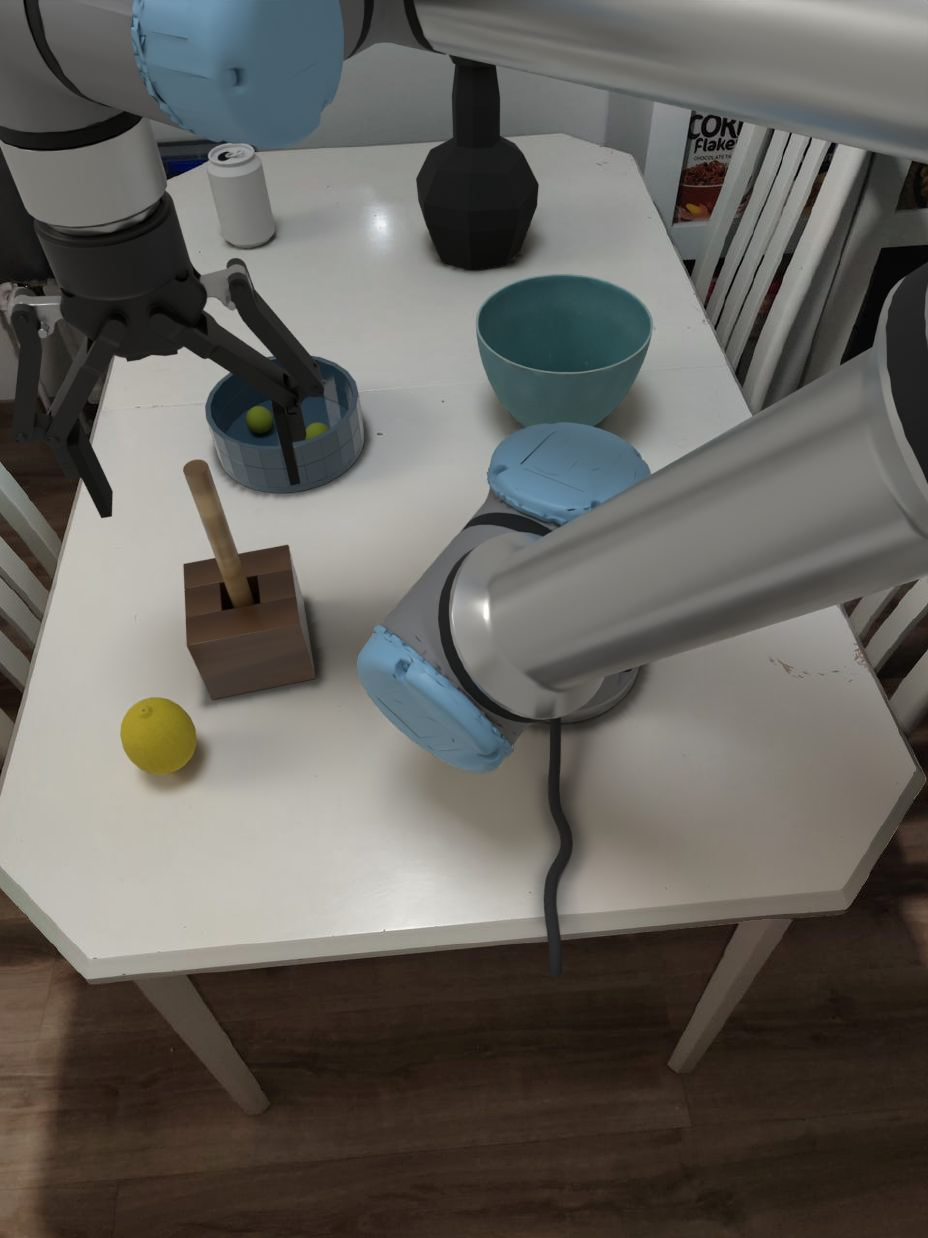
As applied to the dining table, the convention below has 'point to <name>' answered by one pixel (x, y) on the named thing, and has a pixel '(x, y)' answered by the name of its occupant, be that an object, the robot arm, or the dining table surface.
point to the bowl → (261, 454)
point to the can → (240, 195)
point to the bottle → (476, 179)
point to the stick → (218, 531)
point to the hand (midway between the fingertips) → (201, 488)
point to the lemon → (158, 735)
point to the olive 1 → (259, 419)
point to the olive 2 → (315, 430)
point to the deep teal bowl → (562, 347)
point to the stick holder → (248, 625)
